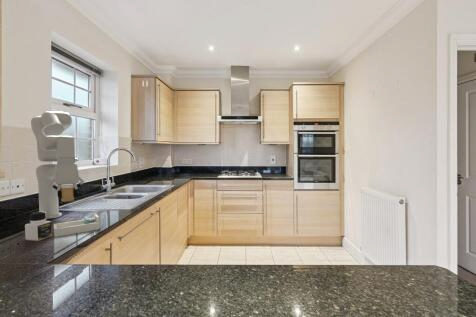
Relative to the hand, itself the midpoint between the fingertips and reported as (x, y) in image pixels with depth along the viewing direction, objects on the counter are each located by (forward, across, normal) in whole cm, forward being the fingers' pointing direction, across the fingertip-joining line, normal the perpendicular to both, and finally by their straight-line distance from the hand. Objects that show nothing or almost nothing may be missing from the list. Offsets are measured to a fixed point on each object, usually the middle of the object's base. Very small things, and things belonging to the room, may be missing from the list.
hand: (67, 197), depth 135 cm
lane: (+17, -4, 0) cm, 17 cm away
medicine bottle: (+17, +12, +3) cm, 21 cm away
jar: (+1, 0, 0) cm, 1 cm away
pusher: (+16, -10, 0) cm, 18 cm away
